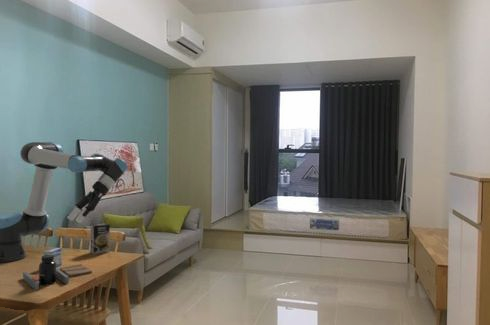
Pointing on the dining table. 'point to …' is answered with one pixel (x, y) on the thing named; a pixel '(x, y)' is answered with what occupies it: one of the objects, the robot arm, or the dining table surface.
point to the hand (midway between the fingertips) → (73, 220)
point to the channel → (35, 284)
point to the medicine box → (55, 255)
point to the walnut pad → (75, 270)
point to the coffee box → (100, 238)
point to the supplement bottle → (47, 270)
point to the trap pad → (36, 277)
